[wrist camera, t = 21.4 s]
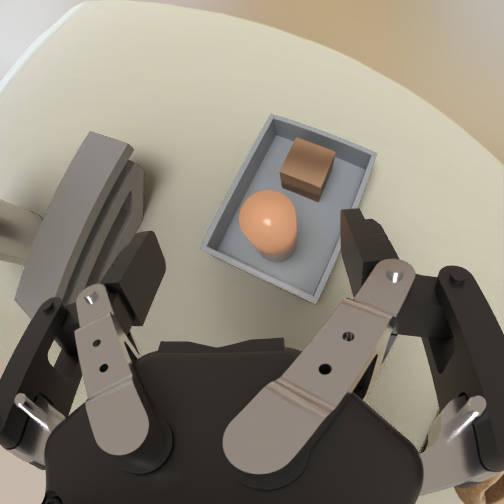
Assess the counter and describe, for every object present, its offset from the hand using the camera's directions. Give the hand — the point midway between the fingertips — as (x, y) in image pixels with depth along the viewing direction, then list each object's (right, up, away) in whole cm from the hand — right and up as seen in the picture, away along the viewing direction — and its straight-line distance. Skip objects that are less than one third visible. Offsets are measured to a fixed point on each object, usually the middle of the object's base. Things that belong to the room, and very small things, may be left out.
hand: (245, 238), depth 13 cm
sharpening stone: (-21, +1, +29) cm, 36 cm away
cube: (+7, +9, +25) cm, 27 cm away
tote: (+6, +5, +25) cm, 26 cm away
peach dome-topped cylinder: (+3, +1, +24) cm, 24 cm away
